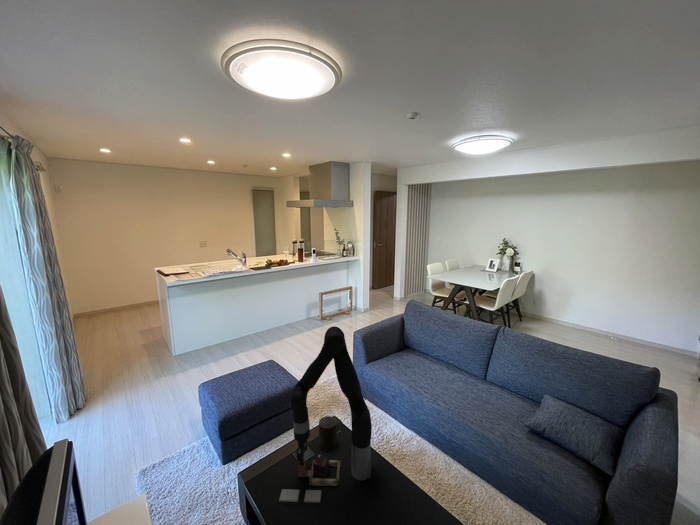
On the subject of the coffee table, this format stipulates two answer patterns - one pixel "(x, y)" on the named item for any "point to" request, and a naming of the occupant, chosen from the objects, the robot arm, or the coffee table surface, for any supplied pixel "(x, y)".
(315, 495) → the pair of grey tiles
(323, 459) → the box
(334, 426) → the pillar candle
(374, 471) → the coffee table surface
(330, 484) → the wooden open tray
